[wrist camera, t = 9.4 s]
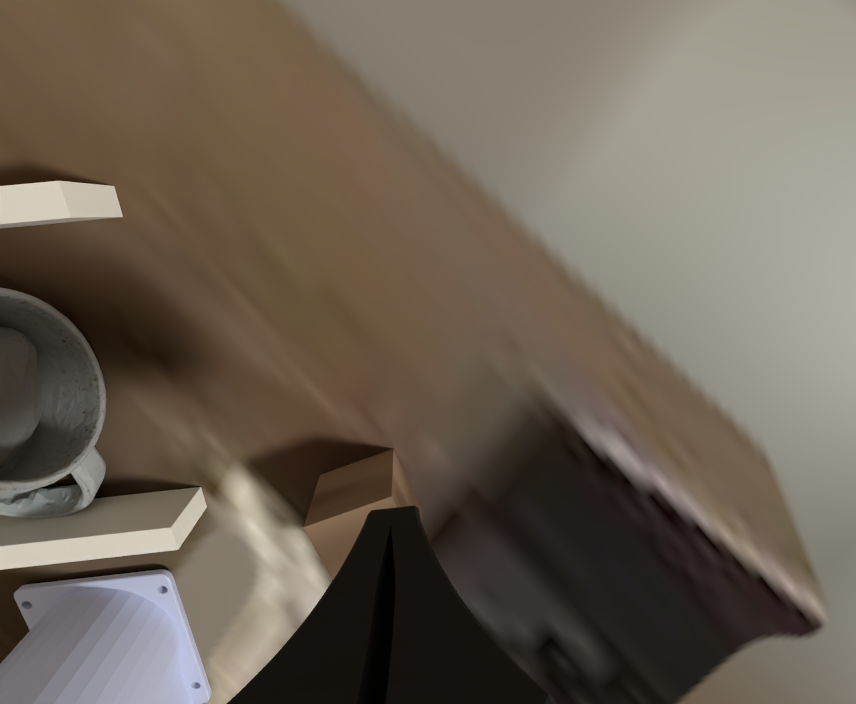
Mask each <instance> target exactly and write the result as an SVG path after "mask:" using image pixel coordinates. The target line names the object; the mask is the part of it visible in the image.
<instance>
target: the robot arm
mask: <svg viewBox="0 0 856 704" xmlns="http://www.w3.org/2000/svg"><path fill="white" fill-rule="evenodd" d="M163 586H165V587H163ZM14 599H15V601H16V603H17V605H18V607H19V609H20V611H21V613H22V615H23V617H24V619H25V622H26V624H27V626H28V628H29V630H30V631H29V632H28V633H27V634H26V636H25V637H24V638H23V639H22V640H21V641H20V642H19V643H18V644H17V646H16V647H15V648H14V649H13V650H12V651H11V652H10V653H9V655H8V656H7V657H6V658H5V659H4V660H3V661H2V662H1V663H0V704H202V703H205V702H207V701H208V700H209V698H210V695H211V688H210V685H209V682H208V679H207V676H206V673H205V670H204V667H203V664H202V661H201V659H200V656H199V653H198V650H197V647H196V644H195V641H194V638H193V635H192V632H191V629H190V626H189V623H188V620H187V617H186V614H185V611H184V608H183V605H182V602H181V599H180V596H179V593H178V590H177V587H176V584H175V581H174V578H173V575H172V574H171V573H170V572H169V571H167V570H163V569H160V570H151V571H142V572H133V573H125V574H116V575H107V576H98V577H89V578H80V579H72V580H63V581H54V582H45V583H36V584H27V585H23V586H21V587H20V588H19V589H18V590H17V591H16V592H15V593H14ZM227 704H556V703H555V701H554V700H553V698H552V696H551V695H550V694H549V693H548V692H547V691H546V690H544V689H543V688H542V687H541V686H540V685H539V684H538V683H537V682H535V681H534V680H533V679H532V678H531V677H530V676H529V675H528V674H527V673H526V672H525V671H524V670H523V669H521V668H520V667H519V666H518V665H517V664H516V663H515V662H514V661H513V660H512V659H511V657H510V656H509V655H508V654H507V653H506V652H505V651H504V650H503V649H502V648H501V647H500V646H499V645H498V644H497V642H496V641H495V640H494V639H493V638H492V637H491V636H490V634H489V633H488V632H487V631H486V630H485V629H484V628H483V626H482V625H481V624H480V623H479V622H478V620H477V619H476V618H475V616H474V615H473V614H472V613H471V611H470V610H469V609H468V607H467V606H466V605H465V603H464V602H463V600H462V599H461V597H460V596H459V595H458V593H457V592H456V590H455V589H454V587H453V585H452V584H451V582H450V581H449V579H448V577H447V576H446V574H445V572H444V570H443V569H442V567H441V565H440V563H439V561H438V560H437V557H436V555H435V553H434V551H433V549H432V547H431V545H430V543H429V541H428V539H427V536H426V534H425V531H424V528H423V525H422V522H421V519H420V513H419V508H417V507H416V506H415V505H414V506H405V507H397V508H388V509H379V510H371V511H370V512H369V514H368V515H367V518H366V520H365V522H364V525H363V527H362V529H361V531H360V533H359V535H358V537H357V539H356V541H355V543H354V545H353V547H352V549H351V551H350V552H349V554H348V556H347V558H346V559H345V561H344V563H343V565H342V567H341V568H340V570H339V572H338V573H337V575H336V576H335V578H334V579H333V581H332V582H331V584H330V586H329V587H328V589H327V590H326V592H325V593H324V595H323V596H322V598H321V599H320V601H319V602H318V603H317V605H316V606H315V608H314V609H313V610H312V612H311V613H310V614H309V616H308V617H307V618H306V619H305V621H304V622H303V623H302V625H301V626H300V627H299V628H298V630H297V631H296V632H295V633H294V634H293V636H292V637H291V638H290V639H289V640H288V641H287V643H286V644H285V645H284V646H283V647H282V649H281V650H280V651H279V652H278V653H277V654H276V655H275V656H274V657H273V659H272V660H271V661H270V662H269V663H268V664H267V665H266V666H265V667H264V668H263V669H262V670H261V671H260V672H259V673H258V674H257V675H256V676H255V677H254V678H253V679H252V680H251V681H250V682H249V683H248V684H247V685H246V686H245V687H244V688H243V689H242V690H241V691H240V692H239V693H238V694H237V695H236V696H235V697H234V698H232V699H231V700H230V701H229V702H228V703H227Z"/></svg>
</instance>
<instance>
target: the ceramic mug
mask: <svg viewBox="0 0 856 704" xmlns="http://www.w3.org/2000/svg"><path fill="white" fill-rule="evenodd" d="M105 415H106V389H105V384H104V379H103V374H102V371H101V369H100V366H99V363H98V361H97V358H96V356H95V354H94V352H93V350H92V348H91V347H90V345H89V343H88V342H87V340H86V339H85V337H84V335H83V334H82V333H81V332H80V331H79V330H78V329H77V327H76V326H75V325H74V324H73V323H72V322H71V321H70V320H69V319H68V318H67V317H65V316H64V315H63V314H62V313H60V312H59V311H58V310H56V309H55V308H54V307H52V306H51V305H49V304H48V303H46V302H44V301H42V300H40V299H38V298H36V297H34V296H31V295H28V294H26V293H23V292H19V291H15V290H11V289H6V288H0V515H5V516H12V517H20V518H49V517H59V516H65V515H69V514H73V513H76V512H79V511H81V510H83V509H84V508H86V507H87V506H88V505H89V504H90V503H91V502H92V500H93V498H94V497H95V495H96V493H97V491H98V489H99V487H100V485H101V483H102V481H103V479H104V475H105V472H106V465H105V462H104V460H103V458H102V457H101V455H100V454H99V452H98V451H97V449H96V448H95V444H96V442H97V440H98V437H99V435H100V433H101V430H102V427H103V423H104V419H105ZM69 473H71V474H72V476H73V477H74V479H75V480H76V482H77V483H78V484H75V485H70V486H60V487H54V488H49V489H43V488H41V487H44V486H47V485H49V484H52V483H54V482H56V481H58V480H59V479H61V478H63V477H64V476H66V475H68V474H69Z"/></svg>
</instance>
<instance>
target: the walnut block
mask: <svg viewBox="0 0 856 704" xmlns="http://www.w3.org/2000/svg"><path fill="white" fill-rule="evenodd" d="M414 505H415V506H416V507H417V508H419V513H420V519H421V522H422V511H421V508H420V506H419V504H418V502H417V499H416V497H415V495H414V493H413V491H412V488H411V486H410V484H409V482H408V479H407V477H406V475H405V473H404V470H403V468H402V466H401V464H400V462H399V459H398V457H397V455H396V453H395V450H394V449H391V450H388V451H385V452H383V453H380V454H377V455H374V456H371V457H369V458H366V459H363V460H360V461H357V462H355V463H352V464H349V465H346V466H343V467H341V468H338V469H335V470H332V471H329V472H327V473H324V474H321V475H320V477H319V480H318V483H317V486H316V489H315V492H314V495H313V499H312V502H311V505H310V508H309V511H308V514H307V517H306V521H305V524H304V527H303V528H304V530H305V531H306V533H307V535H308V537H309V539H310V540H311V542H312V544H313V546H314V547H315V549H316V551H317V553H318V555H319V556H320V558H321V560H322V562H323V564H324V565H325V567H326V569H327V571H328V572H329V574H330V576H331V578H332V580H333V579H334V578H335V576H336V575H337V573H338V572H339V570H340V568H341V567H342V565H343V563H344V561H345V559H346V558H347V556H348V554H349V552H350V551H351V549H352V547H353V545H354V543H355V541H356V539H357V537H358V535H359V533H360V531H361V529H362V527H363V525H364V522H365V520H366V518H367V515H368V514H369V512H370V511H371V510H379V509H388V508H397V507H405V506H414Z"/></svg>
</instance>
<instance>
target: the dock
mask: <svg viewBox="0 0 856 704" xmlns="http://www.w3.org/2000/svg"><path fill="white" fill-rule="evenodd" d="M117 217H123V215H122V212H121V208H120V205H119V201H118V198H117V194H116V191H115V187H114V186H109V185H98V184H88V183H77V182H67V181H51V182H40V183H29V184H18V185H7V186H0V229H1V228H11V227H22V226H32V225H43V224H54V223H64V222H75V221H85V220H96V219H107V218H117ZM206 507H207V506H206V503H205V499H204V496H203V492H202V489H201V487H195V488H186V489H177V490H168V491H158V492H149V493H140V494H131V495H122V496H113V497H103V498H94V499H93V500H92V502H91V503H90V504H89V505H88V506H87V507H86V508H84V509H83V510H81V511H79V512H76V513H73V514H69V515H65V516H59V517H49V518H20V517H12V516H5V515H0V570H3V569H12V568H20V567H29V566H38V565H47V564H56V563H65V562H74V561H83V560H92V559H100V558H109V557H118V556H127V555H136V554H145V553H154V552H163V551H172V550H178V549H179V548H180V546H181V545H182V543H183V542H184V540H185V539H186V537H187V536H188V534H189V533H190V531H191V530H192V528H193V527H194V525H195V524H196V522H197V521H198V519H199V518H200V516H201V515H202V513H203V512H204V510H205V509H206Z"/></svg>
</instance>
